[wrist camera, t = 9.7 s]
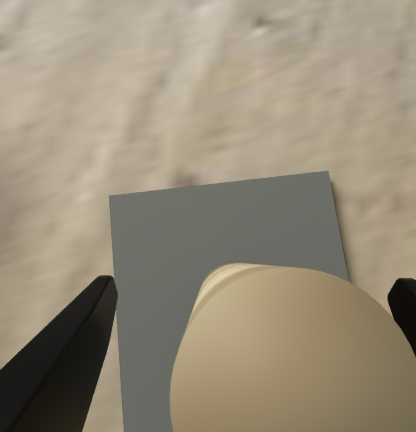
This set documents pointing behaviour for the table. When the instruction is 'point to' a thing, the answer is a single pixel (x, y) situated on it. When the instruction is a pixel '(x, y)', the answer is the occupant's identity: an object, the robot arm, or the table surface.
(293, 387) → the birch peg
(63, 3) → the table surface
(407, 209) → the table surface
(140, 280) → the rubber mat
